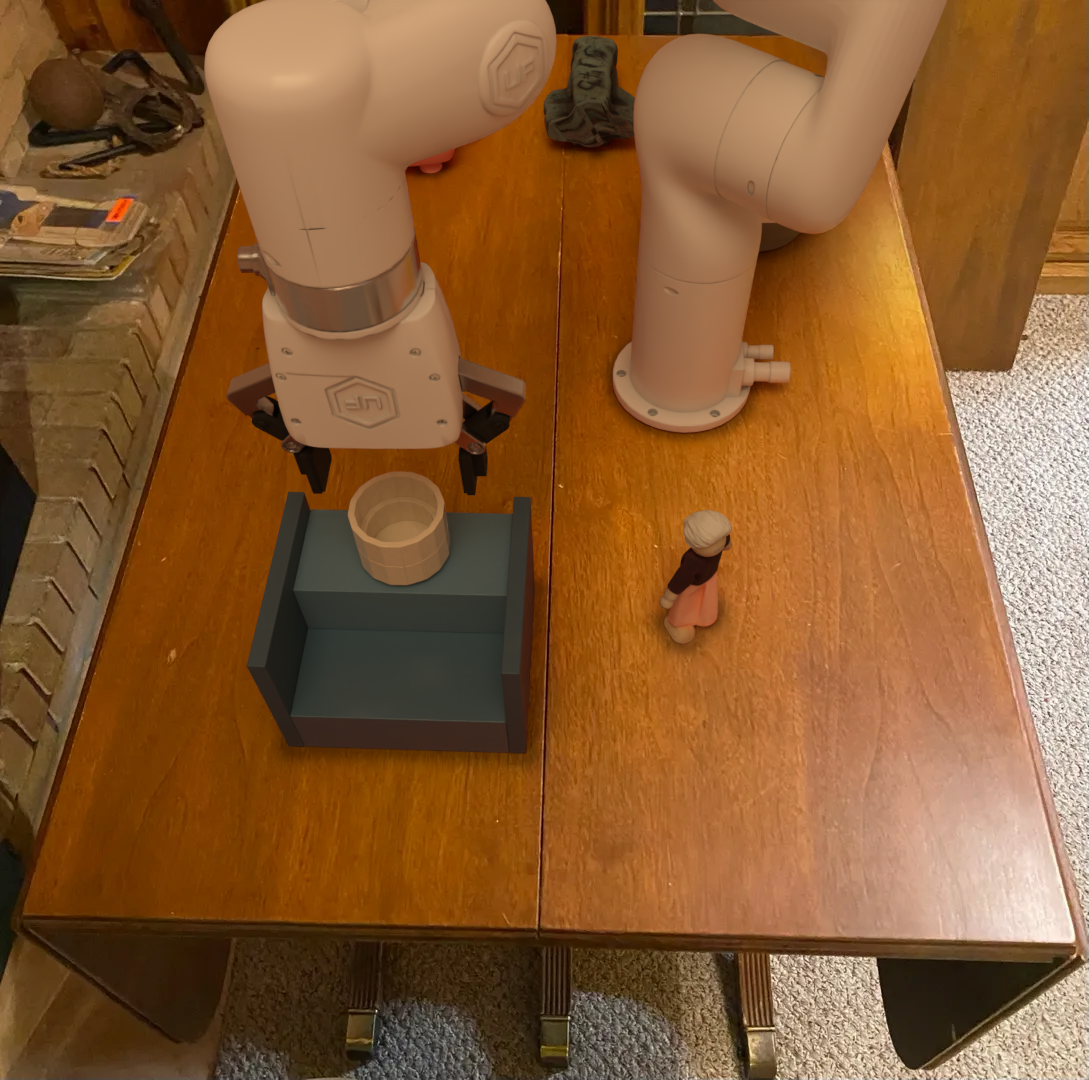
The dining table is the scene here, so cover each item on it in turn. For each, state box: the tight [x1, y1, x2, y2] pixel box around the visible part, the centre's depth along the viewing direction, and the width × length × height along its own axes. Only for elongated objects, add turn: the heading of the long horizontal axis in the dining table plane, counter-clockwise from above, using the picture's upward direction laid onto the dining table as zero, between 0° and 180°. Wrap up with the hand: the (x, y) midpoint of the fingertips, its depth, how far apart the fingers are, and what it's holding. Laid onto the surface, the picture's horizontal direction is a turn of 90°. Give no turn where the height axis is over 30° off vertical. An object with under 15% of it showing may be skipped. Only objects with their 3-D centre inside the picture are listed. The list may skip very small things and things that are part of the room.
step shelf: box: [246, 491, 536, 754], centre depth 73 cm, size 17×14×12 cm
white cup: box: [347, 470, 451, 585], centre depth 69 cm, size 6×6×5 cm
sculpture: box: [543, 35, 635, 148], centre depth 116 cm, size 12×8×15 cm
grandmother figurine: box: [659, 509, 733, 645], centre depth 74 cm, size 8×4×13 cm, turn 148°
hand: (397, 477), depth 65 cm, fingers open, 9 cm apart
